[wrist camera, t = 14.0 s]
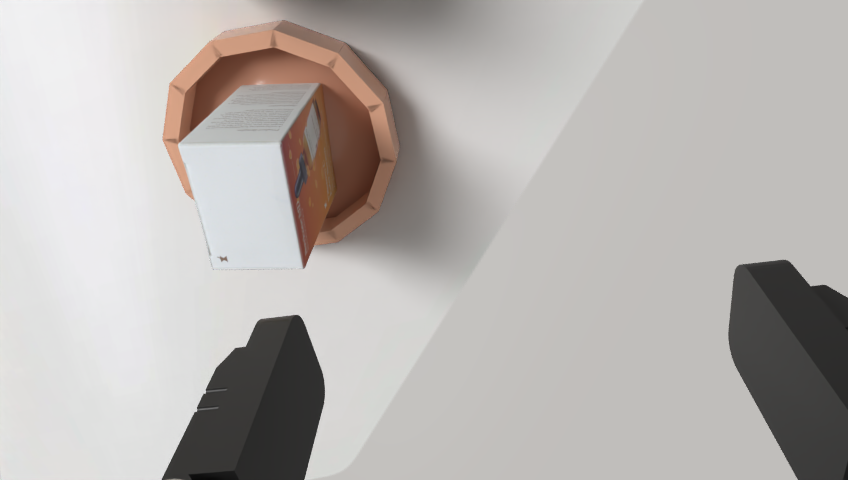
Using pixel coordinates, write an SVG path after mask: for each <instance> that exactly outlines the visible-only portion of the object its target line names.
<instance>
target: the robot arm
mask: <svg viewBox="0 0 848 480" xmlns="http://www.w3.org/2000/svg"><path fill="white" fill-rule="evenodd" d="M729 345H730V350H731V355H732V358H733V361H734V363H735V366H736V368H737V370H738V372H739V373H740V375H741V377H742V379H743V381H744V383H745V384H746V386H747V388H748V390H749V392H750V393H751V395H752V397H753V399H754V401H755V403H756V404H757V406H758V408H759V410H760V411H761V413H762V415H763V417H764V419H765V421H766V423H767V424H768V426H769V428H770V430H771V432H772V433H773V435H774V437H775V439H776V441H777V442H778V444H779V446H780V448H781V450H782V452H783V453H784V455H785V457H786V459H787V461H788V462H789V464H790V466H791V468H792V470H793V471H794V473H795V475H796V477H797V479H798V480H848V298H847V297H846V296H843V295H842V294H840V293H838V292H837V291H835V290H833V289H831V288H830V287H828V286H826V285H820V286H810V285H809V284H808V283H807V282H806V280H805V279H804V278H803V277H802V276H801V274H800V273H799V272H798V271H797V270H796V269H795V267H794V266H793V265H792V264H791V263H790V262H789V261H787V260H778V261H769V262H760V263H752V264H743V265H739V266H737V268H736V270H735V274H734V281H733V291H732V301H731V312H730V322H729ZM324 398H325V385H324V378H323V373H322V370H321V368H320V365H319V362H318V359H317V357H316V354H315V351H314V348H313V346H312V343H311V340H310V338H309V335H308V332H307V329H306V327H305V324H304V322H303V320H302V318H301V317H300V316H299V315H292V316H284V317H275V318H266V319H260V320H259V321H258V322H257V324H256V325H255V328H254V330H253V332H252V334H251V337H250V339H249V341H248V343H247V345H246V347H240V348H235V349H234V350H233V351H232V352H231V353H230V354H229V356H228V357H227V358H226V359H225V360H224V361H223V362H222V363H221V364H220V365H219V366H218V367H217V368H216V370H215V372H214V374H213V376H212V378H211V380H210V382H209V384H208V386H207V388H206V394H203V396H202V398H201V400H200V402H199V405H198V407H197V412H195V413H194V415H193V417H192V419H191V421H190V423H189V425H188V427H187V429H186V431H185V433H184V435H183V437H182V439H181V441H180V443H179V445H178V447H177V449H176V451H175V453H174V455H173V457H172V460H171V462H170V464H169V466H168V468H167V470H166V472H165V474H164V476H163V478H162V480H304V479H305V475H306V471H307V467H308V463H309V459H310V455H311V451H312V448H313V444H314V440H315V436H316V432H317V428H318V424H319V420H320V417H321V413H322V409H323V405H324Z"/></svg>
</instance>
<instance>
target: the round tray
mask: <svg viewBox="0 0 848 480" xmlns="http://www.w3.org/2000/svg"><path fill="white" fill-rule="evenodd" d="M293 83H321V84H322V87H323V95H324V102H325V110H326V117H327V124H328V132H329V140H330V148H331V155H332V162H333V168H334V174H335V179H336V185H337V192H336V194H335V196H334V199H333V201H332V204H331V206H330V208H329V211H328V213H327V216H326V218H325V220H324V223H323V225H322V228H321V230H320V232H319V235H318V237H317V239H316V242H315V244H314V245H321V244H329V243H336V242H339V241H340V240H341V239H343V238H344V237H345V236H347V235H348V234H349V233H351V232H352V231H353V230H355V229H356V228H357V227H359V226H360V225H361V224H363V223H364V222H365V221H367V220H368V219H369V218H371V217H372V216H373V215H375V214H376V213H377V212H378V211H379V209H380V206H381V203H382V201H383V198H384V195H385V192H386V189H387V187H388V184H389V181H390V178H391V176H392V173H393V170H394V167H395V164H396V162H397V157H398V153H399V148H400V144H399V140H398V135H397V131H396V126H395V122H394V117H393V113H392V108H391V103H390V99H389V94H388V91H387V89H386V88H385V87H384V86H383V85H382V84H381V82H380V81H379V80H378V79H377V78H376V77H375V76H374V74H373V73H372V72H371V71H370V70H369V69H368V68H367V67H366V65H365V64H364V63H363V62H362V61H361V60H360V59H359V58H358V56H357V55H356V54H355V53H354V52H353V51H352V50H351V49H350V47H349V46H348V45H347V44H346V43H345V42H342V41H339V40H337V39H334V38H331V37H328V36H326V35H323V34H320V33H318V32H315V31H312V30H309V29H307V28H304V27H301V26H299V25H296V24H293V23H291V22H288V21H285V20H282V21H277V22H272V23H266V24H261V25H256V26H250V27H245V28H240V29H235V30H229V31H224V32H223V33H221V34H220V35H218V36H217V37H215V38H214V39H213V40H211V41H210V42H209V43H208V44H207V45H206V46H205V47H204V48H203V49H202V50H201V51H200V52H199V53H198V54H197V55H196V56H195V57H194V58H193V60H192V61H191V62H190V63H189V64H188V65H187V66H186V67H185V68H184V69H183V70H182V71H181V72H180V73H179V74H178V75H177V76H176V77H175V78H174V79H173V80H172V82H171V83H170V85H169V93H168V101H167V109H166V117H165V124H164V132H163V142H164V144H165V146H166V149H167V151H168V153H169V156H170V158H171V160H172V163H173V165H174V167H175V169H176V172H177V174H178V176H179V179H180V181H181V183H182V186H183V188H184V190H185V193H186V194H187V195H188V196H189V197H191V198H192V199H193V200H194V197H193V193H192V190H191V186H190V183H189V179H188V176H187V172H186V169H185V166H184V163H183V160H182V157H181V154H180V151H179V148H178V144H179V143H180V142H181V141H182V140H183V139H184V138H185V137H186V136H187V135H188V134H190V133H191V132H192V131H193V130H194V129H195V128H196V127H197V126H198V125H199V124H200V123H201V122H202V121H203V120H204V119H206V118H207V117H208V116H209V115H210V114H211V113H212V112H213V111H214V110H215V109H216V108H217V107H219V106H220V105H221V104H222V103H223V102H224V101H225V100H226V99H227V98H228V97H229V96H231V95H232V94H233V93H234V92H235V91H236V90H237V89H238V88H239V87H240V86H242V85H261V84H293ZM194 201H195V200H194Z"/></svg>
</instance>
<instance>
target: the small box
mask: <svg viewBox="0 0 848 480" xmlns="http://www.w3.org/2000/svg"><path fill="white" fill-rule="evenodd" d="M178 148H179V151H180V154H181V157H182V160H183V163H184V166H185V169H186V172H187V176H188V179H189V183H190V186H191V190H192V193H193V197H194V200H195V204H196V207H197V211H198V215H199V218H200V222H201V226H202V229H203V233H204V236H205V240H206V244H207V248H208V253H209V258H210V263H211V267H212V269H213V270H257V269H303V268H305V266H306V263H307V261H308V259H309V256H310V254H311V251H312V249H313V247H314V244H315V242H316V239H317V237H318V235H319V232H320V230H321V228H322V225H323V223H324V220H325V218H326V216H327V213H328V211H329V208H330V206H331V204H332V201H333V199H334V196H335V194H336V192H337V185H336V179H335V174H334V168H333V162H332V155H331V148H330V140H329V132H328V124H327V117H326V110H325V102H324V95H323V87H322V84H321V83H293V84H261V85H242V86H240V87H239V88H238V89H237V90H236V91H235V92H234V93H233V94H232V95H231V96H229V97H228V98H227V99H226V100H225V101H224V102H223V103H222V104H221V105H220V106H219V107H217V108H216V109H215V110H214V111H213V112H212V113H211V114H210V115H209V116H208V117H207V118H206V119H204V120H203V121H202V122H201V123H200V124H199V125H198V126H197V127H196V128H195V129H194V130H193V131H192V132H191V133H190V134H188V135H187V136H186V137H185V138H184V139H183V140H182V141H181V142H180V143H179V144H178Z"/></svg>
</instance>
